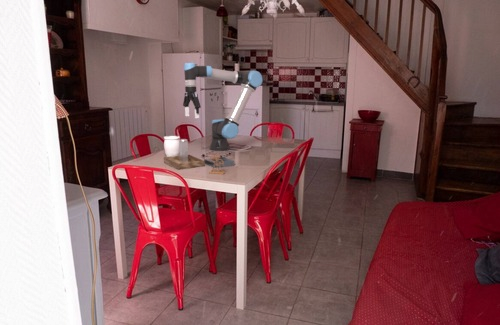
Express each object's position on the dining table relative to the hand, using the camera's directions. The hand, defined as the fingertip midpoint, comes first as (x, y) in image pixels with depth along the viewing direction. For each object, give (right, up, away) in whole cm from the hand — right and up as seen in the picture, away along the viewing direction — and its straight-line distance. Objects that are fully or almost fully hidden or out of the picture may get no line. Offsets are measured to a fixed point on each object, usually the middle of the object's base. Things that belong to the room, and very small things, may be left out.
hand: (192, 117), depth 263 cm
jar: (-13, -29, -5) cm, 32 cm away
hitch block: (+20, -33, -20) cm, 43 cm away
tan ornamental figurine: (+21, -38, -41) cm, 60 cm away
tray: (-2, -33, -21) cm, 39 cm away
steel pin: (-2, -32, -21) cm, 38 cm away
